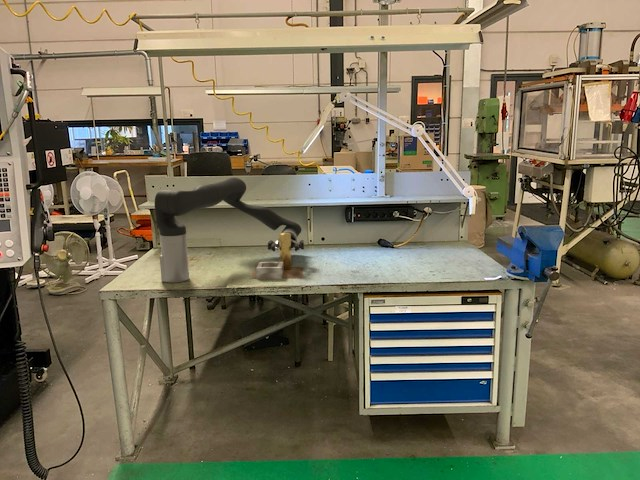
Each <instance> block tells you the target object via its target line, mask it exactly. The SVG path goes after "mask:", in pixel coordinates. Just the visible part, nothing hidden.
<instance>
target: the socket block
mask: <svg viewBox="0 0 640 480" xmlns="http://www.w3.org/2000/svg"><path fill="white" fill-rule="evenodd" d="M304 268H305V267H304V266H295V267H293V266H291V270H284V269H283V262H280V261H259V262H258V264H257V266H256V267H255V269H254V271H253V272H252V274H251V275H250V277H249V279H250V280H269V279H270V280H272V279H273V280H274V279H276V280H277V279H278V280H279V279H280V280H281V279H283V280H284V279H285V280H286V279H290V280H291V279H292V280H293V279H297V280H298V279H300V280H301V279H303V276H304V270H305V269H304Z"/></svg>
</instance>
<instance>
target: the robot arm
mask: <svg viewBox="0 0 640 480" xmlns="http://www.w3.org/2000/svg"><path fill="white" fill-rule="evenodd" d="M246 191H247V184H246V183H245V181H244V180H242V179H241V178H238V177H233V176H232V177H228V178H226V179H223V180H219V181H216V182H211V183H205V184H200V185H197V186H195V187H193V189H192V190H179V189H178V190H177V189H161V190H159V191H157V193H156V195H155V197H154V211H155V218H156V220H155V221H156V227H157V228H158V230H159V242H160V250H161V251H160V252H161V253H160V254H161V255H159V264H160V276H161V277H160V278H161V282H165V283H174V284H175V283H181V282H182V283H183V282H185V281H188V280H189V279H190V269H189V267H190V266H189V256H188V253H189V251H188V242H187V241H188V239H187V237H188V236H187V228H186V225H184V224H183V223H181V222H179V220H178V219H176V217H180V216H184V215H187V214H188V213H190V212H193V211H195V210H196V211H197V210H202V209H207V208H211V207H214V206H216V205H218V204H220V203H221V202H222V201H223V202H225V203H226V204H228V205H229V206H232V207H233V208H235V209H237V210H239V211H241V212H242V213H244V214H246V215H249V216H250V217H253V218H254V219H256V220H258V221H260V223H262V225H265V226H266V227H268V228H269V229H271V230H272V231H277V230H278V229H279V228H280V227H281V226H284V228H283V230H282V231H281V232H280V233H291V251H293V250H294V251H295V252H298V251H299V250H304V249H305V247H304V246H305V241H304V240H303V239H302V240H299V241H298V237H299V235H300V234H301V233H302V226H301V225H300V224H299V223H297V222H295V221H292V220H289V219H287V218H284V217H283V216H281V215H279V214H278V213H277V212H275V211H274V210H272V209H271V208H269V207H265V206H261V205H252V204H248V203H246V202H244V201H243V200H241V199H242V198H243V196H244V195H245V193H246ZM267 250H271V251H272V252H276V251H280V246H279V238H278V239H277V240H276V241H275V242H274V240H269V241H268V242H267Z"/></svg>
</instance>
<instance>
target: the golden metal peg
mask: <svg viewBox="0 0 640 480" xmlns="http://www.w3.org/2000/svg"><path fill="white" fill-rule="evenodd" d="M278 235H279V236H278V239H279V246H280V247H279V248H280V250H279V262H283V269H284V270H291V267H292V250H291V233H281V232H279V233H278Z"/></svg>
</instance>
